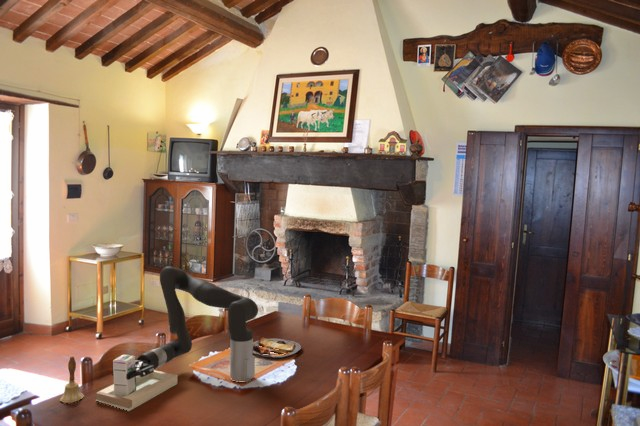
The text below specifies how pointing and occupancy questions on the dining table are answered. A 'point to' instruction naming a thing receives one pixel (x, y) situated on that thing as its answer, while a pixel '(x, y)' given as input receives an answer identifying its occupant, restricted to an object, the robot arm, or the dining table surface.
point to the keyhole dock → (139, 390)
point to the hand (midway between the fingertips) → (120, 375)
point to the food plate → (275, 343)
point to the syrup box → (124, 375)
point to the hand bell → (71, 385)
